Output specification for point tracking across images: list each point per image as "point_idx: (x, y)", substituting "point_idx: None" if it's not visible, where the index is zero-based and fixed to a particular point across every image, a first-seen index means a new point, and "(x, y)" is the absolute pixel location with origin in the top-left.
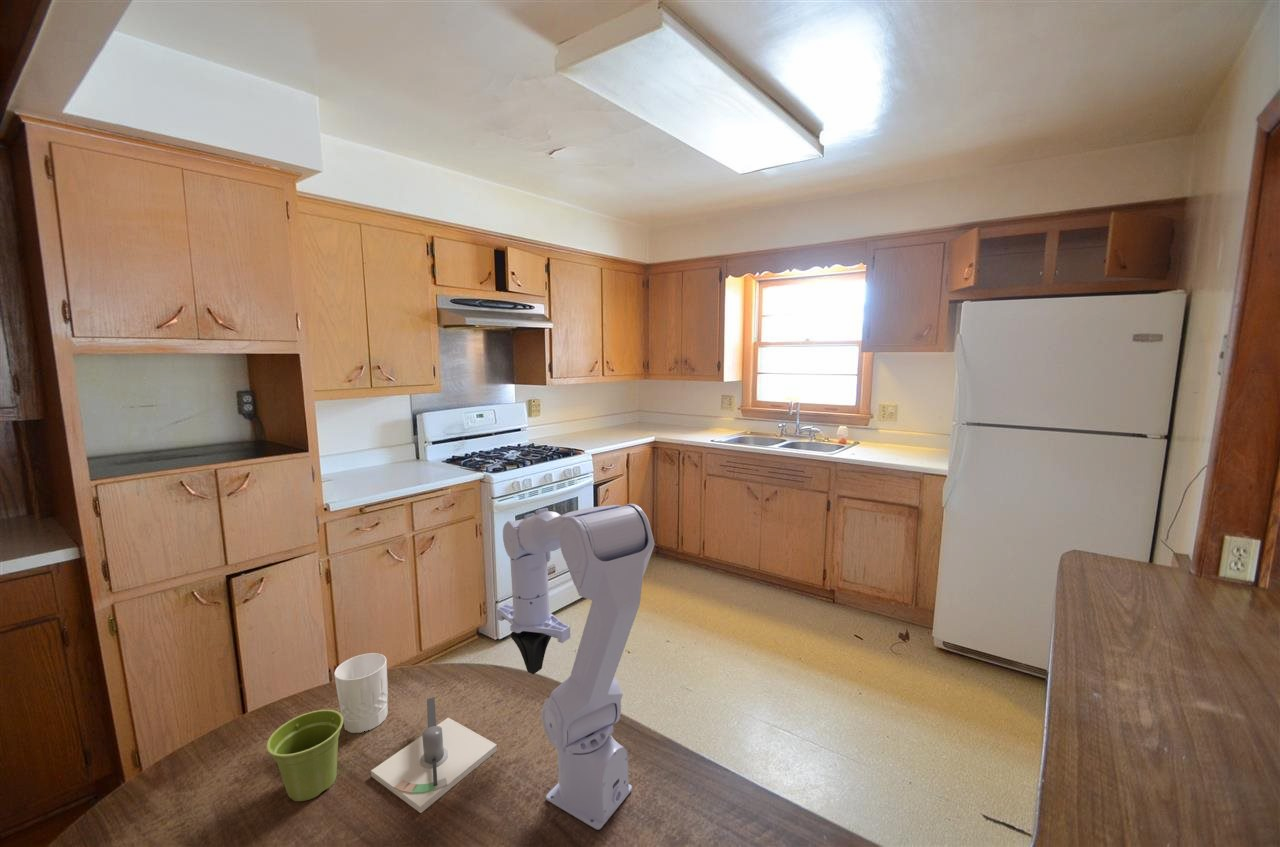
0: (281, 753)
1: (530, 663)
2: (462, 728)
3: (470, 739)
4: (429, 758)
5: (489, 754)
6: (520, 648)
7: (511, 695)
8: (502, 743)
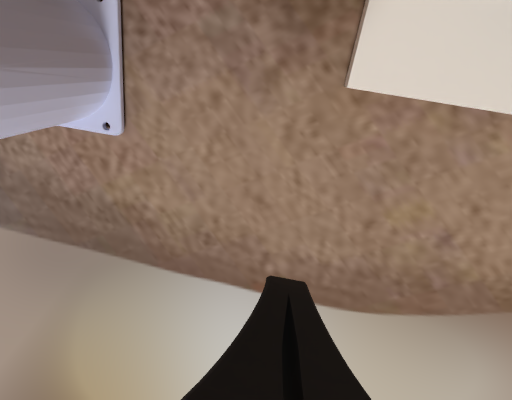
0: None
1: (267, 310)
2: (495, 101)
3: (440, 71)
4: None
5: (352, 56)
6: (345, 394)
7: (421, 266)
8: (345, 114)
